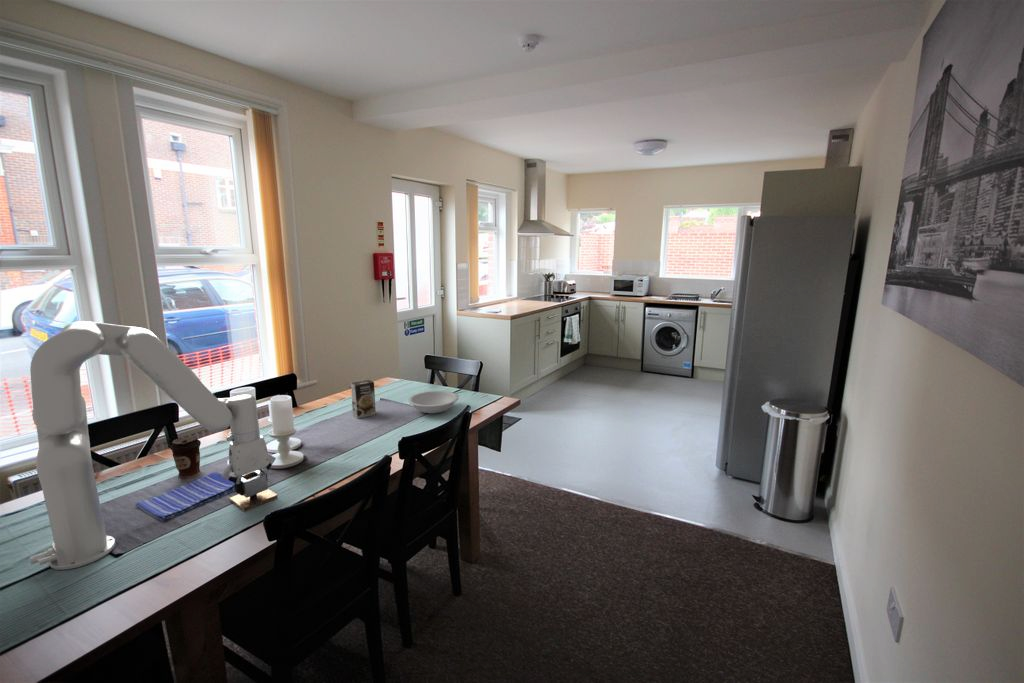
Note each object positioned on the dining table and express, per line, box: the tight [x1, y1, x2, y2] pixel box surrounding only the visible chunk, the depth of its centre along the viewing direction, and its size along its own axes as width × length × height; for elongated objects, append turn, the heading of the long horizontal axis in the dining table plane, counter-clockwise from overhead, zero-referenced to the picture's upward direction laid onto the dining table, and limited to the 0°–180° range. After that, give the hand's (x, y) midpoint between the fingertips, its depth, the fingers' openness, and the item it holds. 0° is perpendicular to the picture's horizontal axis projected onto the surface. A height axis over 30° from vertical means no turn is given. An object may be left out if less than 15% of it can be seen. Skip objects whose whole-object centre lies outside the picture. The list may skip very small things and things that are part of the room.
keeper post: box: [229, 477, 278, 512], centre depth 145 cm, size 10×10×7 cm
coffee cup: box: [169, 436, 201, 479], centre depth 161 cm, size 9×8×13 cm
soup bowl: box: [407, 390, 460, 414], centre depth 225 cm, size 24×24×7 cm
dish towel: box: [135, 471, 236, 522], centre depth 148 cm, size 17×24×3 cm
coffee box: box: [350, 379, 377, 419], centre depth 219 cm, size 9×6×16 cm
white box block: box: [241, 469, 269, 498], centre depth 145 cm, size 6×6×5 cm
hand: (252, 488), depth 145 cm, fingers closed on white box block, 6 cm apart
